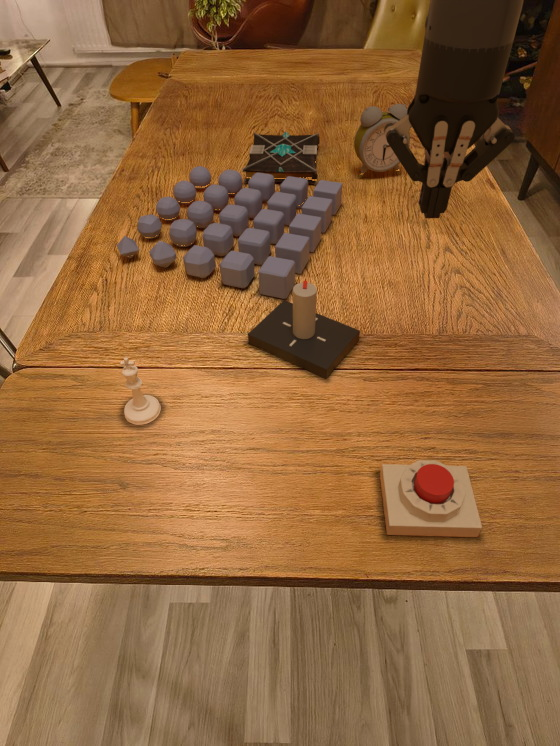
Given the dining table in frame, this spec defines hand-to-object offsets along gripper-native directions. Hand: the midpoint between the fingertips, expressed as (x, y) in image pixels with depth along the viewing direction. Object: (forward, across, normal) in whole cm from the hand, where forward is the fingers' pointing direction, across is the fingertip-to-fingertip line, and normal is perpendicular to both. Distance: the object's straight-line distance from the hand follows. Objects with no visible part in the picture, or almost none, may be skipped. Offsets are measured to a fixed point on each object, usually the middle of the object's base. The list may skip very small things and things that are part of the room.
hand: (430, 214), depth 57 cm
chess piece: (+25, -36, -8) cm, 45 cm away
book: (+25, -19, +70) cm, 76 cm away
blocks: (+25, -28, +39) cm, 54 cm away
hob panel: (+25, -14, +6) cm, 29 cm away
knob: (+23, -14, +6) cm, 28 cm away
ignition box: (+25, +1, -22) cm, 33 cm away
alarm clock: (+25, +3, +65) cm, 70 cm away
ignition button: (+21, +1, -22) cm, 30 cm away
